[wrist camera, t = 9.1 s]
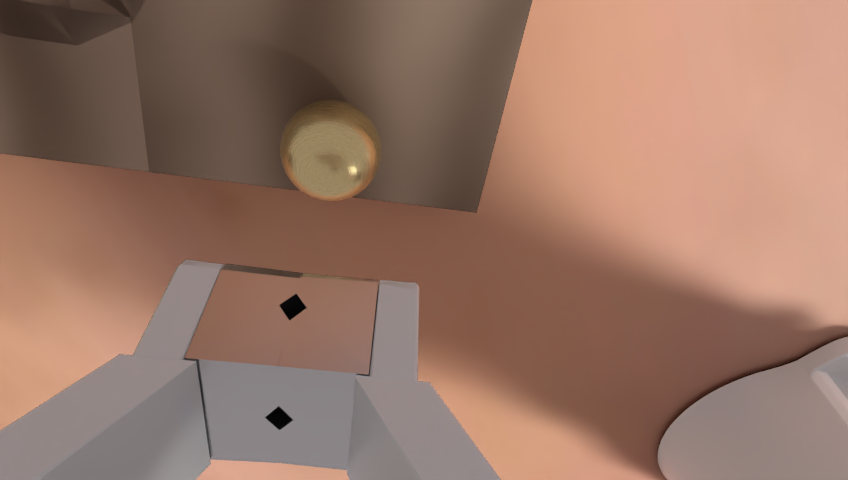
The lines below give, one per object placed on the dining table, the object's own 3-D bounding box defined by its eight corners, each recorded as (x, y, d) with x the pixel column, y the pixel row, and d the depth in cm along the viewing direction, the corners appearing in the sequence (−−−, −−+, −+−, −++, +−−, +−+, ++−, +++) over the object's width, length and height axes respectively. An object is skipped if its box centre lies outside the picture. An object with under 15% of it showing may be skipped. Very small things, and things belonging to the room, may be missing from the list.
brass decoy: (388, 90, 22) (386, 137, 19) (377, 173, 24) (373, 226, 21) (290, 76, 22) (272, 122, 19) (286, 161, 24) (271, 214, 21)
